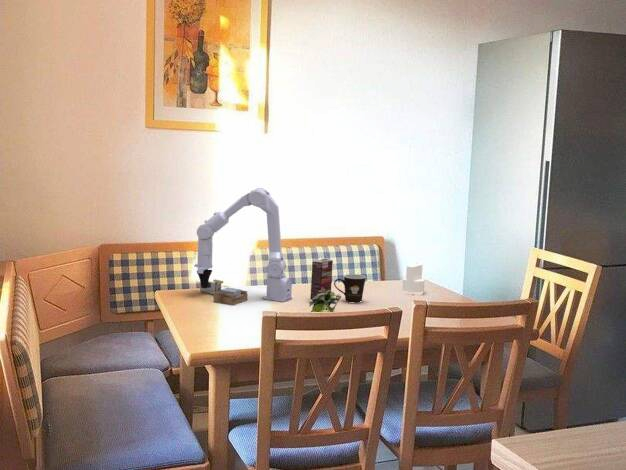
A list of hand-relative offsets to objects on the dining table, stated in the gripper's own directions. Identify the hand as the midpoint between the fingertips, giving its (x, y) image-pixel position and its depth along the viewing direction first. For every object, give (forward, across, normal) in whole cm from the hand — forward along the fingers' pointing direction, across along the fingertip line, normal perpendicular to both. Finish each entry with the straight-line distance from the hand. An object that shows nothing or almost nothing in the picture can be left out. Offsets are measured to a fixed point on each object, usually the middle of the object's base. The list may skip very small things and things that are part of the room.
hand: (204, 288), depth 272 cm
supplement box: (+3, -2, +46) cm, 47 cm away
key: (+2, -1, +3) cm, 4 cm away
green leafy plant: (+3, +20, +50) cm, 54 cm away
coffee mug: (+2, -4, +58) cm, 58 cm away
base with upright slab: (+2, -26, +84) cm, 88 cm away
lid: (0, +9, +13) cm, 15 cm away
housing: (+2, +9, +13) cm, 16 cm away
